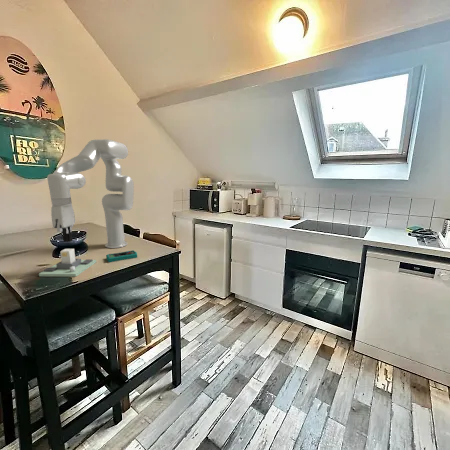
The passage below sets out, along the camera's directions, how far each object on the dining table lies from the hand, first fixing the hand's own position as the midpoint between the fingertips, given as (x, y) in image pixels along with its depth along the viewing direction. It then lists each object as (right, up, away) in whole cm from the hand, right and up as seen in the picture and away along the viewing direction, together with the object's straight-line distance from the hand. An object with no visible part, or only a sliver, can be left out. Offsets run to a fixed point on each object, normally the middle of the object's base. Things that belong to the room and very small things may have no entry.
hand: (68, 241), depth 118 cm
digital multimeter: (+18, -11, +17) cm, 27 cm away
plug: (0, -12, +1) cm, 12 cm away
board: (0, -13, +2) cm, 13 cm away
